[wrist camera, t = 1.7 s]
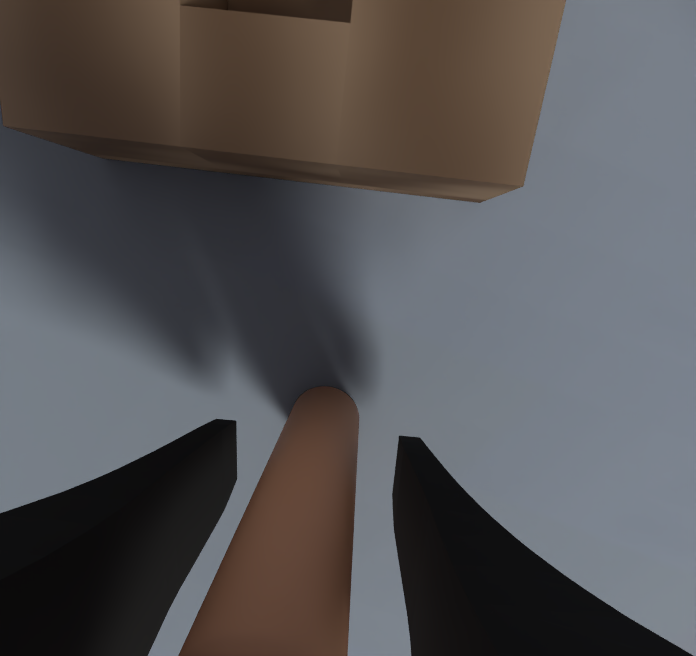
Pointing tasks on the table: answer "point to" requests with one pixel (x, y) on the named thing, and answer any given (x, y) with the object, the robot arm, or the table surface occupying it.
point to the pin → (291, 544)
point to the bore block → (289, 87)
